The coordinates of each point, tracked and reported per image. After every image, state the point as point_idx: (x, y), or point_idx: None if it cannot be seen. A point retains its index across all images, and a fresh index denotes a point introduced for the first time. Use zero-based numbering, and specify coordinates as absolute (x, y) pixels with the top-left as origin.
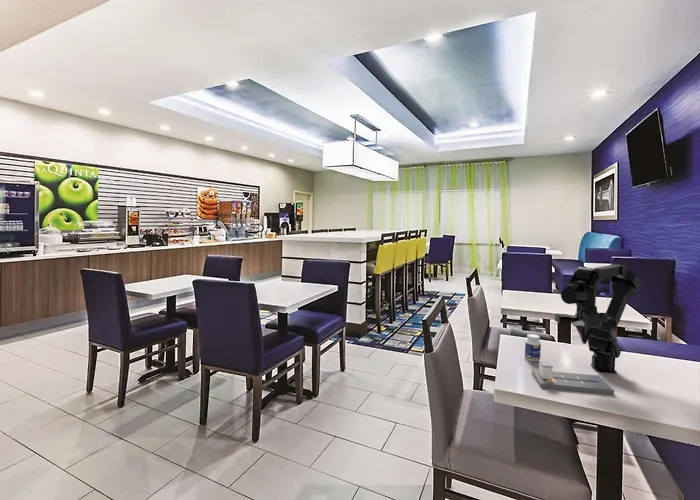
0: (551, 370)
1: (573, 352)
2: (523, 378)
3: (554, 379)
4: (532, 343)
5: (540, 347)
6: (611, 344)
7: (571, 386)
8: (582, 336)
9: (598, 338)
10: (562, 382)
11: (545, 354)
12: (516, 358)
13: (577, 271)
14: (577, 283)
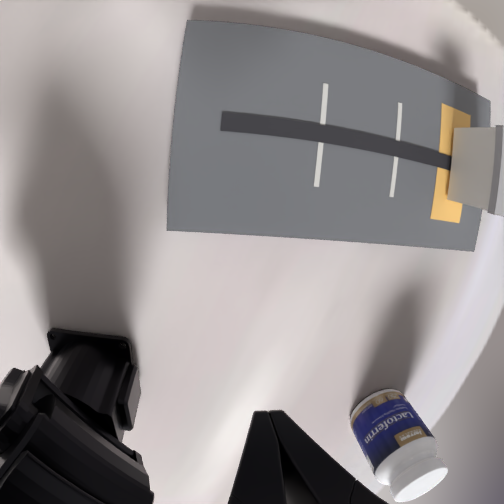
0: (489, 128)
1: (168, 493)
2: None
3: (440, 134)
4: (430, 442)
5: (381, 446)
6: (4, 424)
7: (394, 59)
8: (338, 469)
9: (85, 499)
10: (420, 99)
11: None
12: (428, 392)
13: None
14: None
